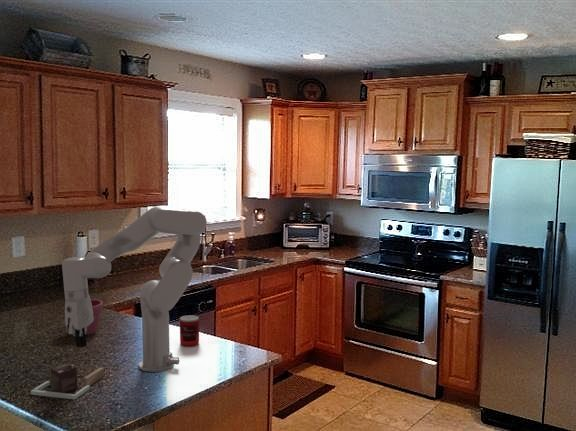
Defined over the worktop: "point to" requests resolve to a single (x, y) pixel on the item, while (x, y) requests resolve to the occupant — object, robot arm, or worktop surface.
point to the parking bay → (56, 394)
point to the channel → (93, 376)
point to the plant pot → (95, 316)
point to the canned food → (189, 330)
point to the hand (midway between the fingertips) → (81, 346)
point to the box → (64, 378)
